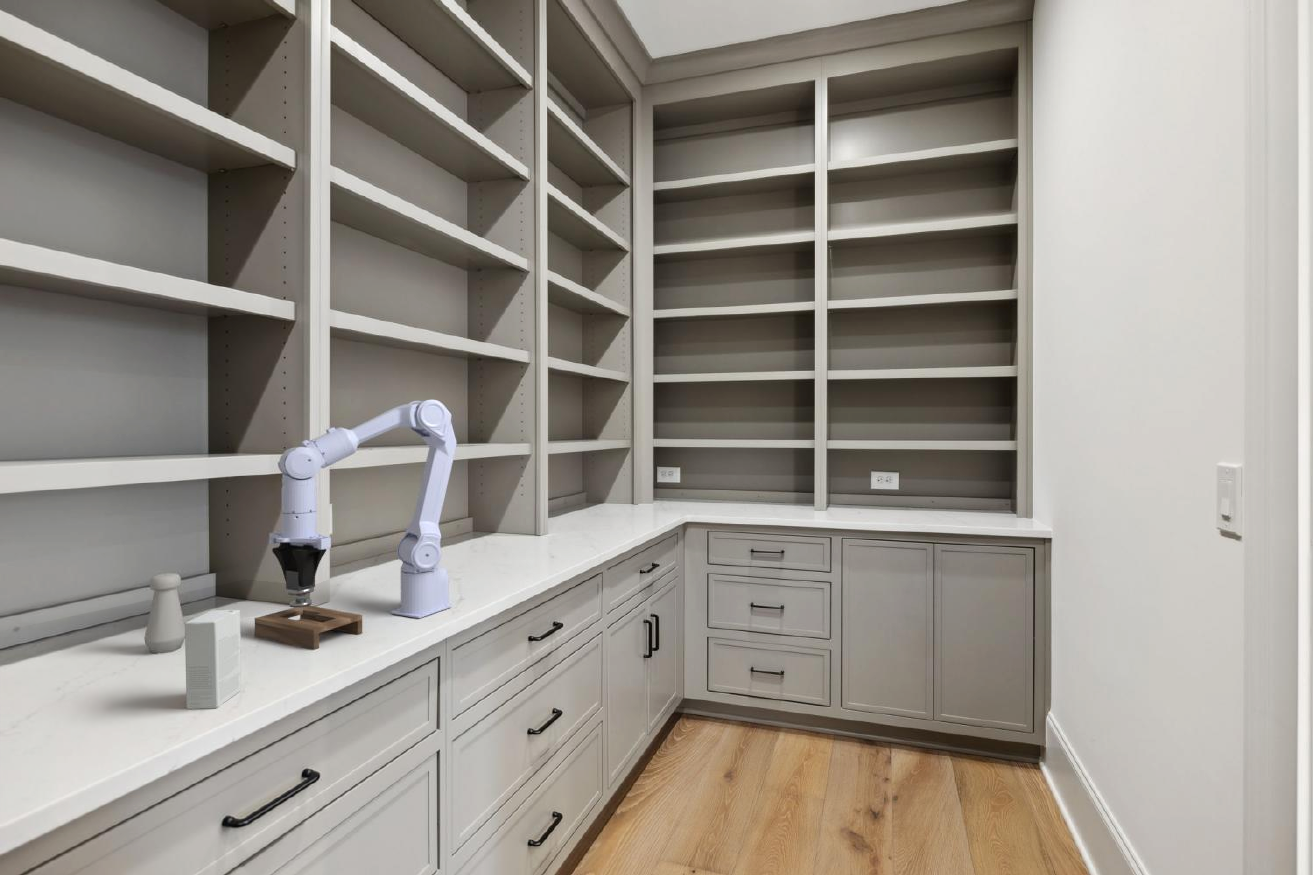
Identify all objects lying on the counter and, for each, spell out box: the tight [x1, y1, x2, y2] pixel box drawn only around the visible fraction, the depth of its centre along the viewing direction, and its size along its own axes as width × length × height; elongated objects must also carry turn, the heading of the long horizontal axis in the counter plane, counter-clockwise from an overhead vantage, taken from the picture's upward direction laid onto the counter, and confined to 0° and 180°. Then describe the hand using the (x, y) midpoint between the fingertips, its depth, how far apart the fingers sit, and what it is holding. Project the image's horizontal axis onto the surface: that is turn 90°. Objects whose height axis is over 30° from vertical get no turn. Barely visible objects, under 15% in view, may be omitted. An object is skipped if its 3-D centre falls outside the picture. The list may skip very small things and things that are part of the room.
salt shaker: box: [143, 572, 185, 654], centre depth 111 cm, size 6×6×13 cm
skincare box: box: [184, 609, 242, 710], centre depth 91 cm, size 6×4×12 cm
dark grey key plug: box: [285, 568, 316, 608], centre depth 121 cm, size 4×4×7 cm
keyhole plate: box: [254, 605, 363, 650], centre depth 120 cm, size 10×16×3 cm, turn 65°
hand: (299, 584), depth 120 cm, fingers closed on dark grey key plug, 3 cm apart
